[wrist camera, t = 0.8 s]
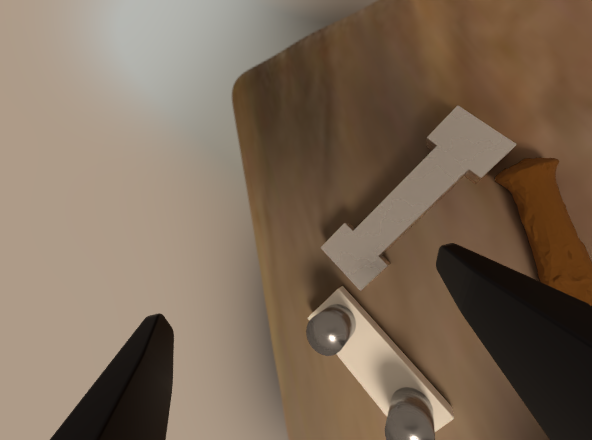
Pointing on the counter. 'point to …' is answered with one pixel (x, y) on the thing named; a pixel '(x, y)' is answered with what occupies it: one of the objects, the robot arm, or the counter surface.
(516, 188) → the primitive tool
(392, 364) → the peg rack
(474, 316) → the robot arm
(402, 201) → the spanner
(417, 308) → the counter surface
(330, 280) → the counter surface
